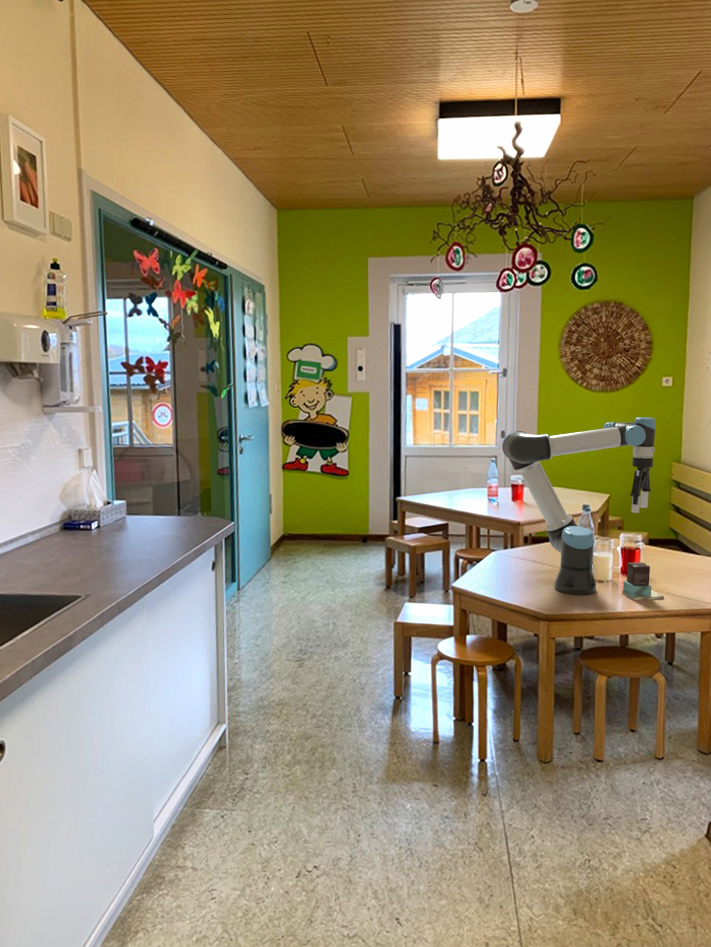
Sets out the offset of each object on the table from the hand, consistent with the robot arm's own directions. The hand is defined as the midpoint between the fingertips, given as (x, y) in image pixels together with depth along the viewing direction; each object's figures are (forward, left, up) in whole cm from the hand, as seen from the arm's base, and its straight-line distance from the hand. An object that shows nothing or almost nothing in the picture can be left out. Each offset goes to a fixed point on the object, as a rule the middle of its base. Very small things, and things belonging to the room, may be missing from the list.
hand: (639, 510), depth 282 cm
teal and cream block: (-9, -20, -29) cm, 36 cm away
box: (-11, -20, -24) cm, 33 cm away
